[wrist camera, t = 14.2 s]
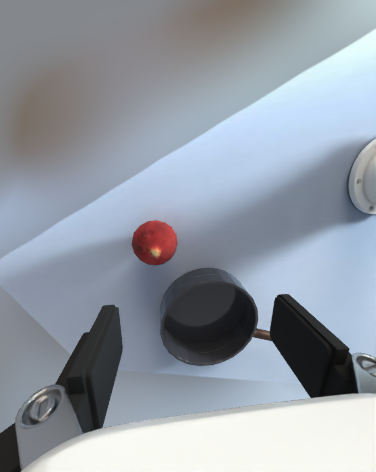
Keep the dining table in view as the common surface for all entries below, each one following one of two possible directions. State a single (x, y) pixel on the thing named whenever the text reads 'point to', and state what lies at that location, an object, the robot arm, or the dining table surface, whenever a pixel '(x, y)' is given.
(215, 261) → the dining table surface
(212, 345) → the pan
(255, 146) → the dining table surface
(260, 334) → the pan handle
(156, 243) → the onion
